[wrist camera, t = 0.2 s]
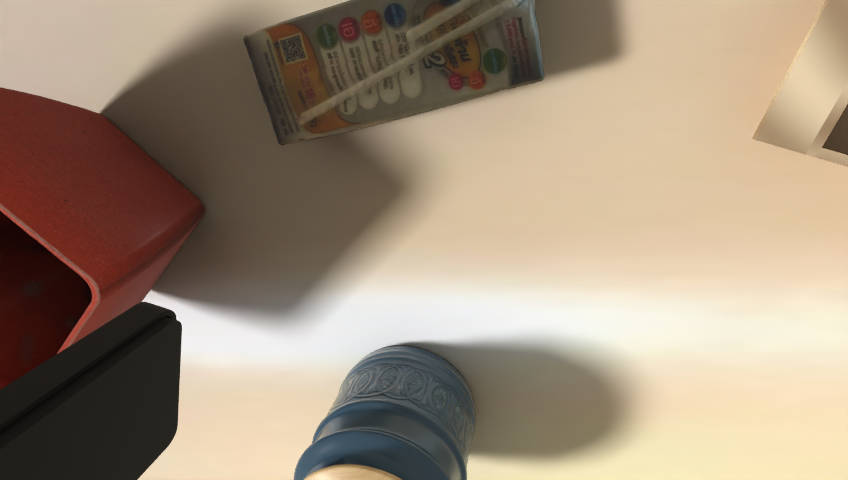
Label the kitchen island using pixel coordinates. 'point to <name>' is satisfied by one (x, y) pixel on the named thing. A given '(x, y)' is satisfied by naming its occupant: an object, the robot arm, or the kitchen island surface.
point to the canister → (395, 422)
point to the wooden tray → (812, 89)
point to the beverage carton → (390, 61)
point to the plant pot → (76, 226)
